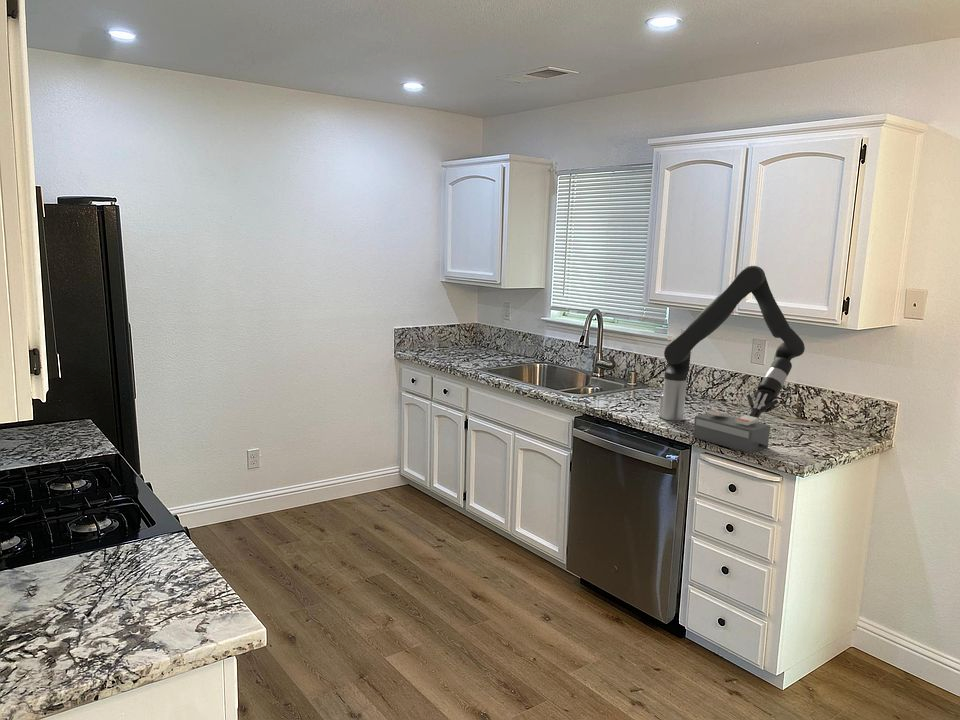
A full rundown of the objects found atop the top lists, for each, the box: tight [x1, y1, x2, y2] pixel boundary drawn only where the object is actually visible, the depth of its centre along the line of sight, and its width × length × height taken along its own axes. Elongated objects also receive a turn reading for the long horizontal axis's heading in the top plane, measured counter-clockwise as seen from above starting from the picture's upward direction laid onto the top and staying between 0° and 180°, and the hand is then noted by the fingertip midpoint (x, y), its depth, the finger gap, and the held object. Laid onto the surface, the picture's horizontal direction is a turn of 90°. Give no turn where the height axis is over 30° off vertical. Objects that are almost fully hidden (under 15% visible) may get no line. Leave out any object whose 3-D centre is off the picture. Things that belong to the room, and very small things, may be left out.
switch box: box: [692, 412, 771, 454], centre depth 269 cm, size 27×12×8 cm, turn 39°
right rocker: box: [735, 414, 759, 426], centre depth 264 cm, size 5×7×1 cm
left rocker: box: [706, 409, 730, 417], centre depth 274 cm, size 5×7×1 cm
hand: (752, 418), depth 267 cm, fingers closed
